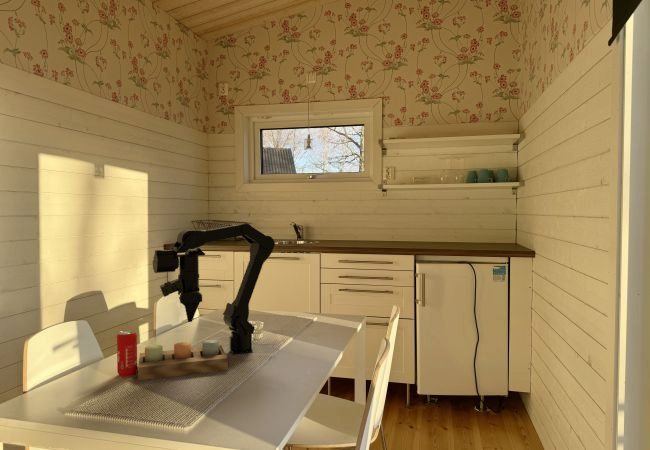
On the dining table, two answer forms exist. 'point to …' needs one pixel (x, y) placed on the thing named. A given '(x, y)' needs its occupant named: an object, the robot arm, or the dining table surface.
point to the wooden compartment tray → (181, 364)
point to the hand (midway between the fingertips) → (189, 321)
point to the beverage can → (127, 353)
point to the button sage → (154, 353)
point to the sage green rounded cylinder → (210, 348)
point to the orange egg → (182, 350)
